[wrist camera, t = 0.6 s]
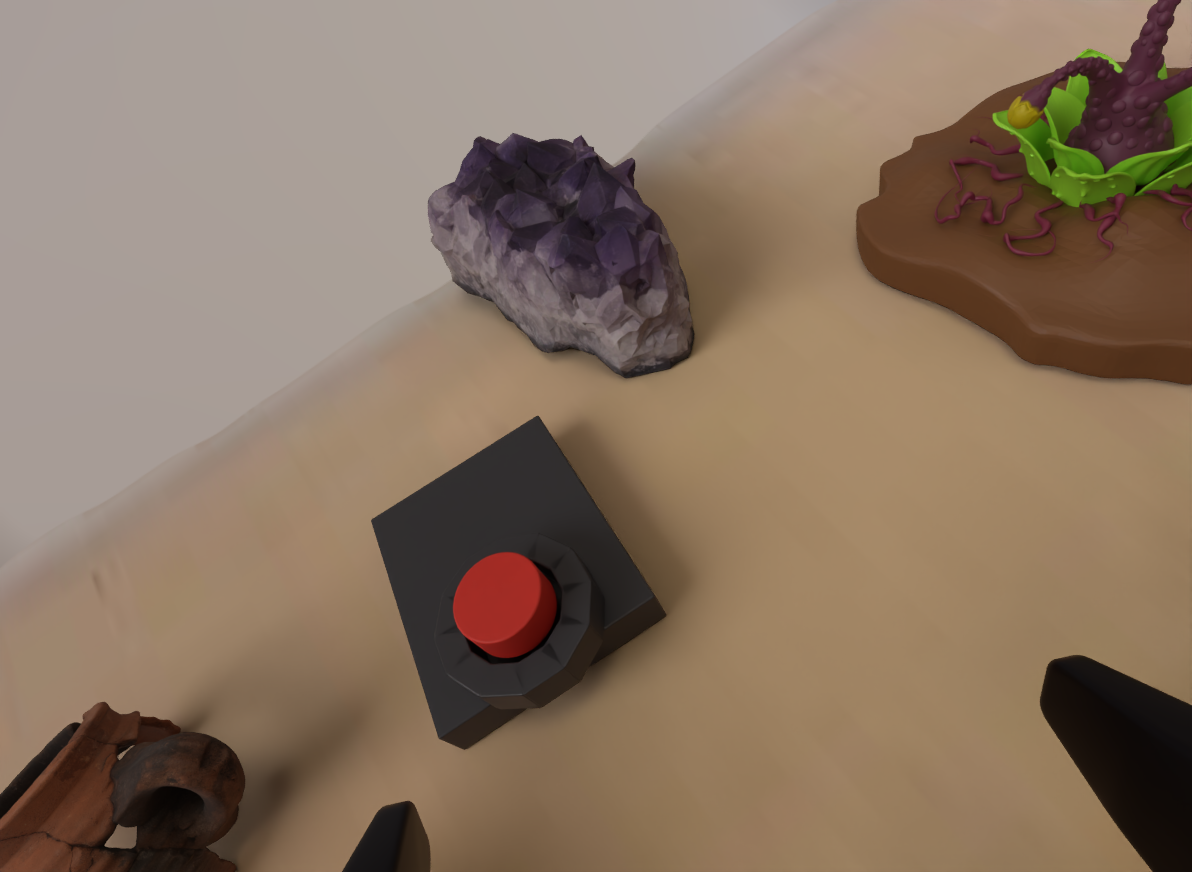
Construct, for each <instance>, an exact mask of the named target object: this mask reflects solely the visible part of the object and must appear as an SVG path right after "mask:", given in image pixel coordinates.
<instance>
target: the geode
mask: <svg viewBox="0 0 1192 872" xmlns="http://www.w3.org/2000/svg"><path fill="white" fill-rule="evenodd" d="M634 171H635V160H634V159H633V158H630V159H628V160H626V161H624V162H623V163H621V164H620V165H618V166H616V167H613V166H612V165H610V164H609V163H607V162H606V161H605V160H604V159H603V158H602V157H600V156H599V155H598V154H597V153H595V152H594V147H589V146H588V144H587V143H586V141H585V140H584V138H583V137H582V136H579V137H578V138H576V139H575V140H574V141H573V143H571V142H569V141H567V140H563V139H549V140H545V141H541V142H538V141H535V140H533V139H530V138H526V137H523V136H520V135H518V134H514V133H512V134H511V135H510V136H509V137H508V138H507V139H506V140H505V141H504V142H502V143H501V144H499V143H495V142H493V141H491V140H489V139H487V140H486V139H485V138H483V137H481V136H480V137H477V138H476V139H475V140H474V145H473V148H472V149H471V151H470V152H469V153H468V154H467V156H466V157H465V158H464V160H463V161H462V165H461V168H460V172H459V174H458V176H457V178H456V180H455V182H453V183H450V184H448V185H445V186H443V187H441V188H440V189H438V190H436V191H435V192H434V193H433V194H432V195H431V196H430V197H429V200H428V217H429V223H430V229H431V233H432V234H433V236H432V238H431V242H432V243H433V245H434V246H435V247H436V248H437V249H438V250H439V251H440V252H441V254H442V256H443V258H444V260H445V262H446V264H447V266H448V267H449V269H450V272H451V274H452V280H453V282H455V283H456V284H457V285H458V286H460V287H461V288H462V289H464V290H465V291H466V292H467V293H470V294H473V295H477V296H480V297H483V298H485V299H487V300H489V301H492V302H494V303H495V304H496V305H497V307H498V308H499V309H500V311H501V312H502V313H503V315H504V316H505V318H506V319H507V320H508V321H511V322H514V323H515V324H516V326H517V327H518V328H519V329H520V330H521V331H523V332H524V333H525V334H527V336H528V337H529V338H530V340H531V341H532V343H533V344H534V345H536V346H537V347H538V348H539V349H540V350H541V351H544V352H547V353H550V352H557V351H563V350H566V349H568V348H570V347H572V348H575V349H579V350H581V351H584V352H587V353H589V354H592V355H595V356H597V357H598V358H599V359H600V360H601V361H602V362H603V363H604V364H606V365H607V366H608V367H609V368H610V369H611V370H613V371H614V372H615V373H617V374H619V375H621V376H623V377H625V378H629V377H633V376H638V375H643V374H648V373H652V372H657V371H661V370H665V369H669V368H671V367H672V366H673V364H675V363H677V362H679V361H681V360H684V359H686V358H688V356H689V354H690V352H691V350H692V346H693V340H694V331H693V326H692V318H691V315H690V310H689V305H690V303H689V295H688V288H687V283H686V279H685V276H684V274H683V271H682V269H681V267H680V265H679V259H678V252H677V250H676V248H675V247H674V245H673V243H672V242H671V240H670V239H669V236H668V233H667V230H666V228H665V226H664V224H663V223H662V221H661V219H660V217H659V216H658V215H657V214H656V213H655V212H654V211H653V210H652V209H650V208H649V207H648V206H647V205H645V204H644V203H643V201H642V199H641V197H640V196H639V194H638V192H637V190H635V189H634V177H633V174H634Z"/></svg>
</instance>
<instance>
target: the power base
mask: <svg viewBox="0 0 1192 872" xmlns="http://www.w3.org/2000/svg"><path fill="white" fill-rule="evenodd" d="M371 522H372V525H373V528H374V532H375V535H376V538H377V541H378V545H379V548H380V551H381V554H382V557H383V561H384V564H385V567H386V570H387V573H388V577H389V580H390V583H391V586H392V590H393V593H394V596H395V599H396V602H397V606H398V609H399V612H400V615H401V619H402V622H403V625H404V628H405V631H406V635H407V638H408V641H409V644H410V647H411V651H412V654H413V657H414V660H415V664H416V667H417V670H418V673H419V676H420V680H421V683H422V686H423V689H424V692H425V696H426V699H427V702H428V705H429V709H430V712H431V715H432V718H433V721H434V725H435V728H436V731H437V734H438V737H439V739H441V740H443V741H445V742H448V743H450V744H452V745H455V746H457V747H459V748H462V749H466V748H468V747H469V746H471V745H472V744H474V743H475V742H477V741H478V740H480V739H481V738H483V737H484V736H486V735H487V734H489V733H490V732H492V731H493V730H495V729H496V728H498V727H500V726H501V725H503V724H504V723H506V722H507V721H509V720H510V719H512V718H513V717H515V716H516V715H518V714H519V713H521V712H522V711H524V710H525V709H527V708H540V707H543V706H545V705H546V704H548V703H549V702H551V701H552V700H554V699H555V698H557V697H558V696H560V695H561V694H563V693H564V692H566V691H567V690H569V689H570V688H572V687H573V686H575V685H576V684H578V683H579V682H580V681H581V680H582V678H583V676H584V674H585V672H586V671H587V669H588V667H590V666H591V665H593V664H594V663H596V662H597V661H599V660H600V659H602V658H603V657H605V656H607V655H608V654H610V653H611V652H613V651H614V650H616V649H617V648H619V647H620V646H622V645H623V644H625V643H626V642H628V641H629V640H631V639H632V638H634V637H635V636H637V635H638V634H640V633H641V632H643V631H644V630H646V629H647V628H649V627H650V626H652V625H653V624H655V623H656V622H658V621H659V620H661V619H662V618H664V617H665V616H666V613H665V611H664V610H663V608H662V606H661V605H660V603H659V601H658V600H657V598H656V597H655V595H654V593H653V592H652V590H651V589H650V587H649V586H648V584H647V583H646V581H645V579H644V578H643V576H642V575H641V573H640V572H639V570H638V569H637V567H636V566H635V564H634V562H633V561H632V559H631V558H630V556H629V555H628V553H627V552H626V550H625V549H624V547H623V545H622V544H621V542H620V541H619V539H618V538H617V536H616V535H615V533H614V532H613V530H612V528H611V527H610V525H609V524H608V522H607V521H606V519H605V518H604V516H603V515H602V513H601V511H600V510H599V508H598V507H597V505H596V504H595V502H594V501H593V499H592V498H591V496H590V494H589V493H588V491H587V490H586V488H585V487H584V485H583V484H582V482H581V481H580V479H579V477H578V476H577V474H576V473H575V471H574V470H573V468H572V467H571V465H570V464H569V462H568V460H567V459H566V457H565V456H564V454H563V453H562V451H561V450H560V448H559V447H558V445H557V443H556V442H555V440H554V439H553V437H552V436H551V434H550V433H549V431H548V430H547V428H546V426H545V425H544V423H543V422H542V420H541V419H540V417H539V416H536V417H534V418H533V419H531V420H529V421H528V422H526V423H525V424H523V425H522V426H520V427H518V428H517V429H515V430H514V431H512V432H510V433H509V434H507V435H506V436H504V437H502V438H501V439H499V440H498V441H496V442H494V443H493V444H491V445H490V446H488V447H486V448H485V449H483V450H482V451H480V452H479V453H477V454H475V455H474V456H472V457H471V458H469V459H467V460H466V461H464V462H463V463H461V464H459V465H458V466H456V467H455V468H453V469H451V470H450V471H448V472H447V473H445V474H443V475H442V476H440V477H439V478H437V479H435V480H434V481H432V482H431V483H429V484H428V485H426V486H424V487H423V488H421V489H420V490H418V491H416V492H415V493H413V494H412V495H410V496H408V497H407V498H405V499H404V500H402V501H400V502H399V503H397V504H396V505H394V506H392V507H391V508H389V509H388V510H386V511H384V512H383V513H381V514H380V515H378V516H377V517H375V518H373V519H372V520H371ZM501 552H513V553H518V554H521V555H523V556H525V557H527V558H528V559H529V560H531V561H532V562H533V563H534V564H535V566H536V567H537V568H538V569H539V570H540V571H541V572H542V573H543V575H544V576H545V577H546V578H547V579H548V580H549V581H550V583H551V584H552V586H553V588H554V590H555V594H556V599H557V610H556V616H555V620H554V623H553V625H552V627H551V629H550V631H549V633H548V634H547V636H546V637H545V638H544V639H543V641H542V642H541V643H540V644H539V645H537V646H536V647H535V648H534V649H532V650H531V651H529V652H527V653H525V654H523V655H520V656H517V657H512V658H500V657H496V656H493V655H491V654H489V653H487V652H486V651H484V650H483V649H481V648H480V647H479V646H477V645H476V644H475V643H473V642H472V641H471V640H469V639H468V638H466V637H465V636H464V635H463V634H462V633H461V631H460V630H459V629H458V627H457V624H456V622H455V619H454V613H453V603H454V597H455V593H456V590H457V588H458V586H459V584H460V582H461V580H462V578H463V577H464V576H465V574H466V573H467V572H468V571H469V570H470V569H471V568H472V567H473V566H474V565H475V564H476V563H478V562H479V561H480V560H482V559H484V558H485V557H488V556H490V555H493V554H496V553H501Z"/></svg>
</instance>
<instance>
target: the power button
mask: <svg viewBox="0 0 1192 872" xmlns="http://www.w3.org/2000/svg"><path fill="white" fill-rule="evenodd" d="M556 610H557V599H556V594H555V590H554V588H553V586H552V584H551V583H550V581H549V580H548V579H547V578H546V577H545V576H544V575H543V573H542V572H541V571H540V570H539V569H538V568H537V567H536V566H535V564H534V563H533V562H532V561H531V560H529V559H528V558H527V557H525V556H523V555H521V554H518V553H513V552H501V553H496V554H493V555H490V556H488V557H485V558H484V559H482V560H480V561H479V562H478V563H476V564H475V565H474V566H473V567H472V568H471V569H470V570H469V571H468V572H467V573H466V574H465V576H464V577H463V578H462V580H461V582H460V584H459V586H458V588H457V590H456V593H455V597H454V603H453V613H454V619H455V622H456V624H457V627H458V629H459V630H460V631H461V633H462V634H463V635H464V636H465V637H466V638H468V639H469V640H471V641H472V642H473V643H475V644H476V645H477V646H479V647H480V648H481V649H483V650H484V651H486V652H487V653H489V654H491V655H493V656H496V657H500V658H512V657H517V656H520V655H523V654H525V653H527V652H529V651H531V650H532V649H534V648H535V647H536V646H537V645H539V644H540V643H541V642H542V641H543V639H544V638H545V637H546V636H547V634H548V633H549V631H550V629H551V627H552V625H553V623H554V620H555V616H556Z"/></svg>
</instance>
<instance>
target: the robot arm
mask: <svg viewBox="0 0 1192 872" xmlns="http://www.w3.org/2000/svg"><path fill="white" fill-rule="evenodd" d="M1040 706H1041V710H1042V713H1043V715H1044V717H1045V719H1046V720H1047V722H1048V723H1049V725H1050V726H1051V728H1052V729H1053V731H1054V732H1055V734H1056V736H1057V737H1058V739H1059V740H1060V742H1061V743H1062V745H1063V746H1064V748H1065V749H1066V751H1067V752H1068V754H1069V755H1070V757H1071V758H1072V760H1073V761H1074V763H1075V764H1076V766H1077V767H1078V769H1079V770H1080V772H1081V773H1082V775H1083V776H1084V778H1085V779H1086V781H1087V782H1088V784H1089V785H1090V787H1091V788H1092V790H1093V791H1094V793H1095V794H1096V796H1097V797H1098V799H1099V800H1100V802H1101V803H1102V805H1103V806H1104V808H1105V809H1106V811H1107V812H1108V813H1109V815H1110V816H1111V818H1112V819H1113V821H1114V822H1115V823H1116V825H1117V826H1118V828H1119V829H1120V830H1121V832H1122V833H1123V834H1124V836H1125V837H1126V838H1127V839H1128V841H1129V842H1130V843H1131V845H1132V846H1133V847H1134V849H1135V850H1136V851H1137V852H1138V854H1139V855H1140V856H1141V857H1142V859H1143V860H1144V861H1145V862H1146V864H1147V865H1148V866H1149V868H1150V869H1151V870H1152V871H1153V872H1192V705H1190V704H1188V703H1186V702H1183V701H1181V700H1179V699H1177V698H1175V697H1173V696H1170V695H1168V694H1166V693H1164V692H1162V691H1160V690H1157V689H1155V688H1153V687H1151V686H1149V685H1147V684H1144V683H1142V682H1140V681H1138V680H1136V679H1134V678H1131V677H1129V676H1127V675H1125V674H1123V673H1121V672H1118V671H1116V670H1114V669H1112V668H1110V667H1108V666H1106V665H1103V664H1101V663H1099V662H1097V661H1095V660H1093V659H1090V658H1088V657H1085V656H1082V655H1072V656H1068V657H1063V658H1058V659H1054V660H1052V661H1051V662H1050V663H1049V664H1048V666H1047V670H1046V674H1045V679H1044V683H1043V688H1042V692H1041V697H1040ZM342 872H430V845H429V840H428V837H427V834H426V832H425V829H424V827H423V824H422V822H421V819H420V817H419V814H418V812H417V809H416V807H415V805H414V804H413V803H412V802H410V801H405V802H400V803H395V804H391V805H386V806H384V807H382V808H381V809H380V810H379V811H378V812H377V813H376V815H375V817H374V818H373V820H372V822H371V823H370V825H369V827H368V829H367V830H366V832H365V834H364V835H363V837H362V839H361V840H360V842H359V844H358V846H357V847H356V849H355V851H354V852H353V854H352V856H351V857H350V859H349V861H348V863H347V864H346V866H345V868H344V869H343V871H342Z"/></svg>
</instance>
